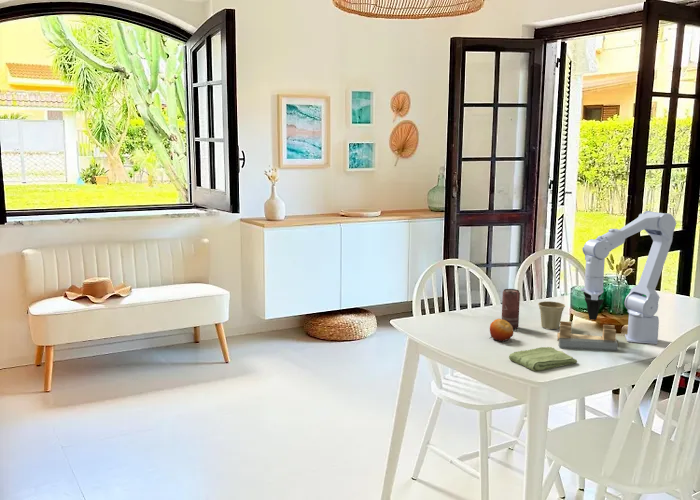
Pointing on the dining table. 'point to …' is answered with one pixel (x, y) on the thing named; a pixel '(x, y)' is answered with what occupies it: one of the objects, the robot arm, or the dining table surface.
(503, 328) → the fruit
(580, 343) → the rail
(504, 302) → the can
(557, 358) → the washcloth
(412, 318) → the dining table surface
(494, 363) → the dining table surface
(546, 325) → the flower pot
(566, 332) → the tan piece
